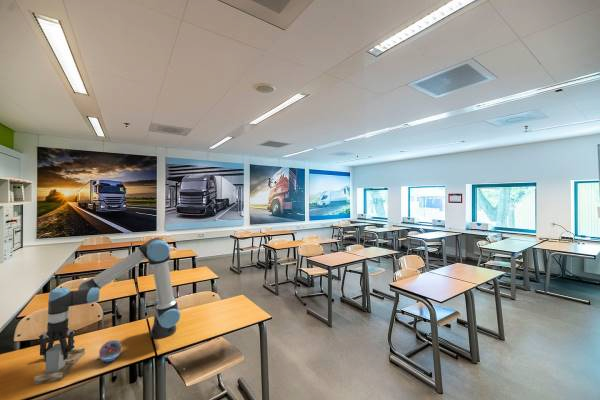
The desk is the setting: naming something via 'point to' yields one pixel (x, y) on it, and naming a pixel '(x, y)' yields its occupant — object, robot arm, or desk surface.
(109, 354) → the cell model
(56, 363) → the frame block
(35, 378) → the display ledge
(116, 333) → the desk surface
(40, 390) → the desk surface
